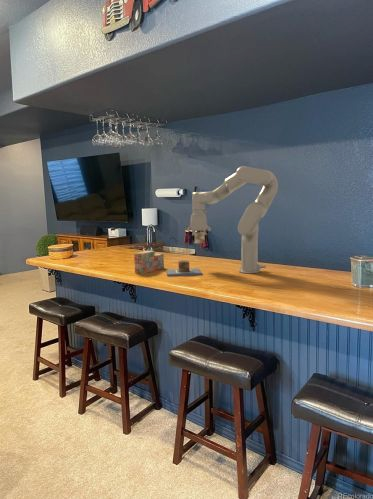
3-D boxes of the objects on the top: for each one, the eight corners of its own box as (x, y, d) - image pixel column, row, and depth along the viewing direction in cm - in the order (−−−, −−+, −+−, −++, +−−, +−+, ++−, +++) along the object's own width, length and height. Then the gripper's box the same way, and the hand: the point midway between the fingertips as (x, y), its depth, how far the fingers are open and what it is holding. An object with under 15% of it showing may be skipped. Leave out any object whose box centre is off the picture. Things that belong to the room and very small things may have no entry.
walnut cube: (188, 270, 225) (188, 260, 224) (189, 272, 219) (189, 261, 218) (178, 270, 224) (178, 260, 224) (179, 272, 218) (178, 262, 218)
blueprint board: (199, 270, 230) (198, 268, 229) (202, 274, 216) (202, 272, 216) (166, 271, 228) (166, 269, 228) (167, 276, 214) (167, 274, 214)
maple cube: (203, 241, 236) (203, 232, 235) (204, 243, 230) (204, 233, 229) (193, 242, 235) (193, 232, 234) (194, 243, 229) (194, 233, 228)
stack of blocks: (156, 267, 244) (155, 248, 243) (164, 268, 241) (163, 249, 239) (134, 273, 227) (134, 252, 225) (142, 274, 223) (142, 253, 222)
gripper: (211, 211, 234) (211, 240, 237) (184, 212, 233) (184, 241, 235) (213, 212, 227) (213, 241, 229) (185, 213, 225) (185, 242, 228)
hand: (199, 241), depth 232 cm, fingers closed on maple cube, 6 cm apart
